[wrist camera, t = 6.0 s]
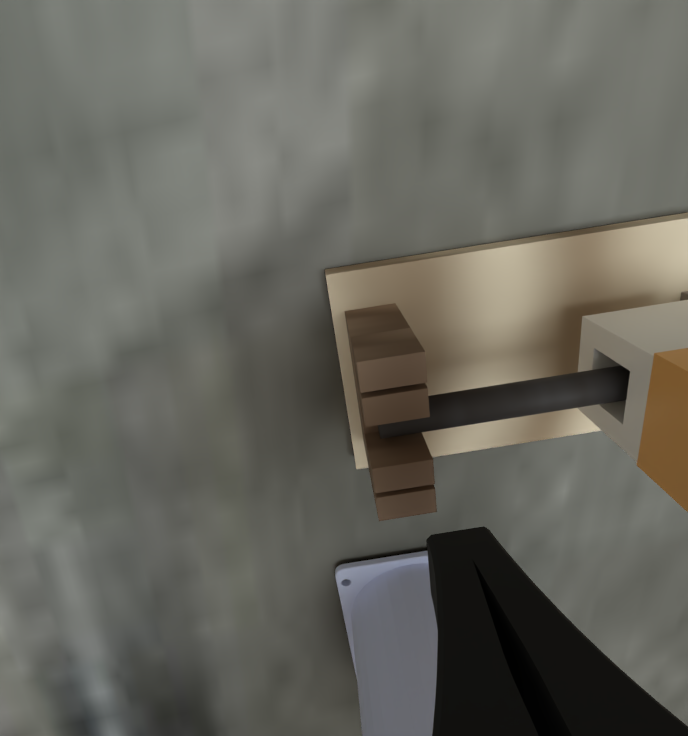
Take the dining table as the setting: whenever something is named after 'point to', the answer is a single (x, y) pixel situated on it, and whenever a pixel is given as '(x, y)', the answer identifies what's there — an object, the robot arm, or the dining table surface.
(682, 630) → the dining table surface
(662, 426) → the sleeve
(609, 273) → the board
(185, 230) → the dining table surface
